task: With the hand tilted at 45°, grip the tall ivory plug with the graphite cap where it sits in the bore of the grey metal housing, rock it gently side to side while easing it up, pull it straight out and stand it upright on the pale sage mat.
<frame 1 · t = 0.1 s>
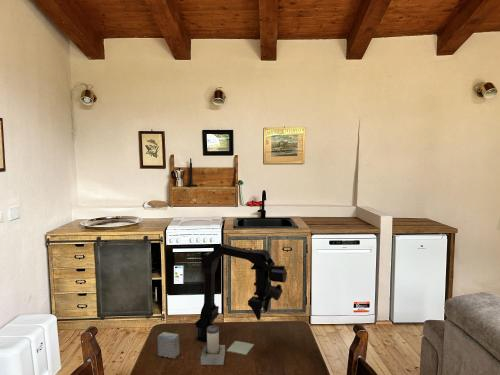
hand: (262, 315, 154), 15 cm above the table, tool pointing down, fingers open, 9 cm apart
housing: (213, 358, 147), on the table
medicine box: (168, 355, 150), on the table
plug: (213, 343, 147), in the housing
mat: (240, 348, 155), on the table
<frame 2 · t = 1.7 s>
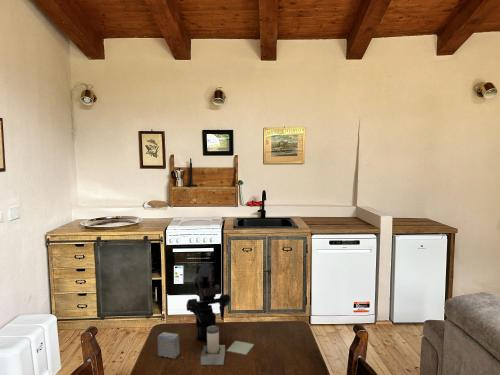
hand: (212, 321, 152), 13 cm above the table, tool tilted 45°, fingers open, 9 cm apart
nothing on the table moved.
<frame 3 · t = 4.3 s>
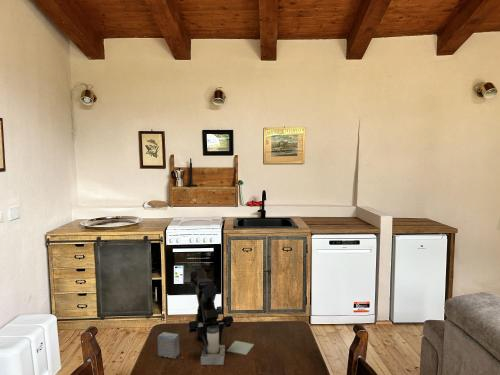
hand: (213, 344, 145), 7 cm above the table, tool tilted 45°, fingers closed on plug, 5 cm apart
plug: (213, 343, 147), in the housing, touching gripper
everything else where it was.
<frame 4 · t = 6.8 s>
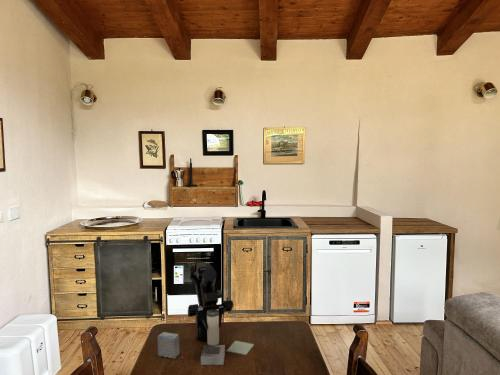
hand: (213, 328, 145), 13 cm above the table, tool tilted 45°, fingers closed on plug, 5 cm apart
plug: (213, 327, 146), point 13 cm above the table, touching gripper
everything else where it was.
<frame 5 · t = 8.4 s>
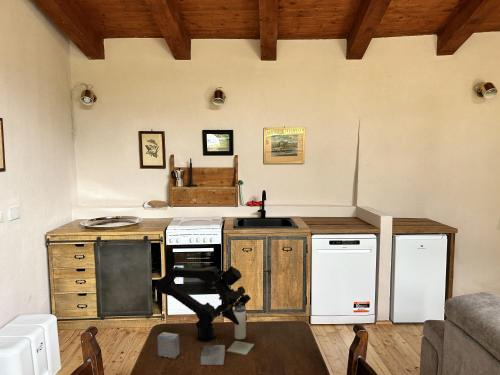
hand: (242, 322, 154), 12 cm above the table, tool tilted 45°, fingers closed on plug, 5 cm apart
plug: (240, 321, 155), point 12 cm above the table, touching gripper
everything else where it was.
when the fingers open (8 cm above the table, at t = 9.5 s): plug drops 1 cm, resting on mat.
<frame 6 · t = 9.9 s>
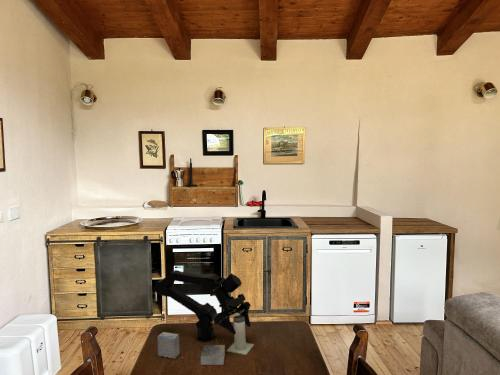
hand: (242, 330, 154), 8 cm above the table, tool tilted 45°, fingers open, 9 cm apart
plug: (239, 332, 155), on the mat
everything else where it was.
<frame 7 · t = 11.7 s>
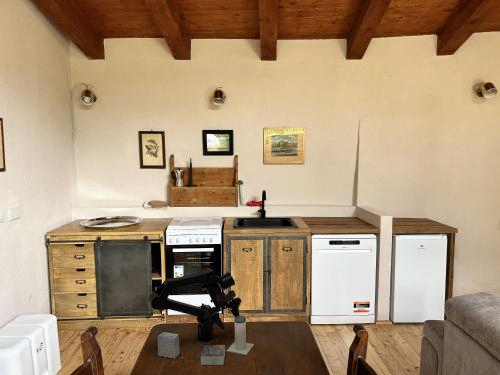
hand: (232, 325, 158), 9 cm above the table, tool tilted 45°, fingers open, 9 cm apart
nothing on the table moved.
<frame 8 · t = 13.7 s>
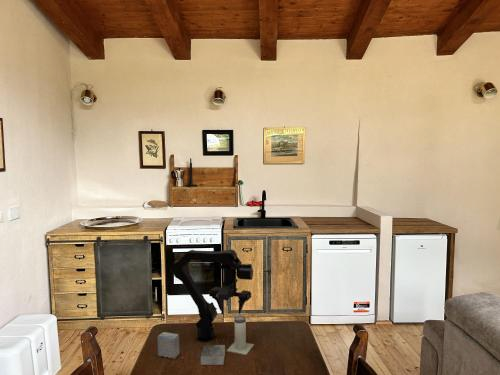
hand: (230, 312, 162), 13 cm above the table, tool pointing down, fingers open, 9 cm apart
nothing on the table moved.
at the end: plug 0.0 cm off-centre on the mat, point 6.9 cm above the mat's base; plug tilted 0°; the gripper is holding nothing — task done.
